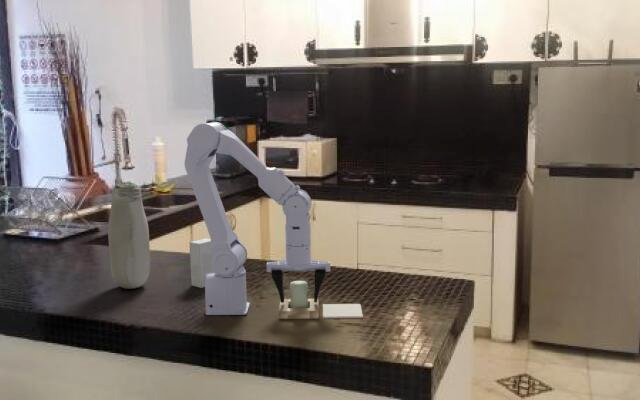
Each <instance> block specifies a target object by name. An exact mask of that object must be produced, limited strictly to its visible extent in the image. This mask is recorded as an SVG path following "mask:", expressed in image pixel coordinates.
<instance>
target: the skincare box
mask: <svg viewBox="0 0 640 400" xmlns="http://www.w3.org/2000/svg"><path fill="white" fill-rule="evenodd" d="M210 242H211V238H207V237H205V238H202V239H198V240H197V239H196V240H194V241H193V240H192V241H189V260H190V278H191V280H190V281H191V286H193V287H197V288H200V289H203V288H205V280H206V275H207V274H213V273H215V271H214V269H213V267H212V253H211V250H210Z"/></svg>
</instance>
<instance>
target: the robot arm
mask: <svg viewBox="0 0 640 400" xmlns="http://www.w3.org/2000/svg"><path fill="white" fill-rule="evenodd" d="M186 144H187V147H186V151H185V156H184V157H185V159H184V169H185V171H186V174H187V177H188V180H189V182H190V185H191V188H192V190H193V193H194V196H195V199H196V201H197V204H198V207H199V210H200V213H201V215H202V218H203V220H204V224H205V226H206V229H207V231H208V234H209V237H210V239H211V242H210V250H211V253H212V267H213V269H214V271H215V273H213V274H207V275H206V280H205V287H204V292H205V293H204V294H205V296H204V297H205V298H204V299H205V315H206V316H231V315H232V316H234V315H235V316H237V315H238V316H244V315H245V316H246V315H248V312H249V308H250V306H251V302H248V300H247V299H248V298H247V275H246V274H247V270H246V269H245V267H244V264H245V262H246V261H247V259H248V251H247V248H246V246H245V245H244V244H243V243H242V242H241V241H240V240H239V237H238V235H237V233H236V232H235V231H234V230H233V229H232V227H231V224H230V222H229V218H228V216H227V212H226V210H225V207H224V205H223V202H222V199H221V197H220V194H219V191H218V188H217V185H216V182H215V180H214V177H213V174H212V172H211V169H210V165H211V163H212V161H213V159H214V158H215V156H216V154H221V155H228V156H231V157H232V158H233V159H235V160H236V161H237V162H239V163H240V164H241V165H242V166H243V167H244V168H245V169H247V170H248V171H249V172H250V173H251V174H252V175H254V176H255V177H256V178H257V181H258V187H259V188H260V189H261V190H262V191H263V192H264V193H265V194H267V195H268V196H269V197H270V198H271V199H272V200H273V201H275V203H277V204H278V205H280V206H282V212H283V214H284V215H285V226H284V228H285V229H284V230H285V260H278V261H267V262H266V273H271V279H272V281H273V282H274V284H275V286H276V288H277V291H278V295H279V299H280V301H281V303H284V299H285V290H284V272H314V293H313V299H314V302H317V299H319V297H318V296H319V293H320V290H321V286H322V284H323V281H324V280H325V277H326V272H331V261H330V260H329V261H328V260H313V259H312V254H311V253H312V250H311V249H312V248H311V245H312V243H311V238H312V237H311V235H312V234H311V222H310V221H311V217H310V212H309V211H310V210H311V208H312V199H311V196H310V195H309V193H308V192H307V190H303V189H301V187H300V185H298V184H296V185H295V184H294V183H293V182H292V181H291V180H290V179H289V178H288V177H287V176H286V172H285V171H284V170H283V169H282V168H281V169H278V168H277V167H268V166H266V164H265V163H264V162H263V161H262V160H261V159H260V158H259V157H258V156H257V155H256V154H255V153H254V152H253V151H252V150H251V149H250V148H249V147H248V146H247V145H246V144H245V142H244V141H242V140H241V139H240V138H239V137H238V136H237V135H236V134H235V133H234V132H233V131H231V130H230V129H227V128H226V127H225V125H224V124H222V123H221V122H217V121H212V122H208V123H200V124H197V125H195V126H194V127H193V128H192V130H191V132H190V133H189V134H188V136H187V138H186Z"/></svg>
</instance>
